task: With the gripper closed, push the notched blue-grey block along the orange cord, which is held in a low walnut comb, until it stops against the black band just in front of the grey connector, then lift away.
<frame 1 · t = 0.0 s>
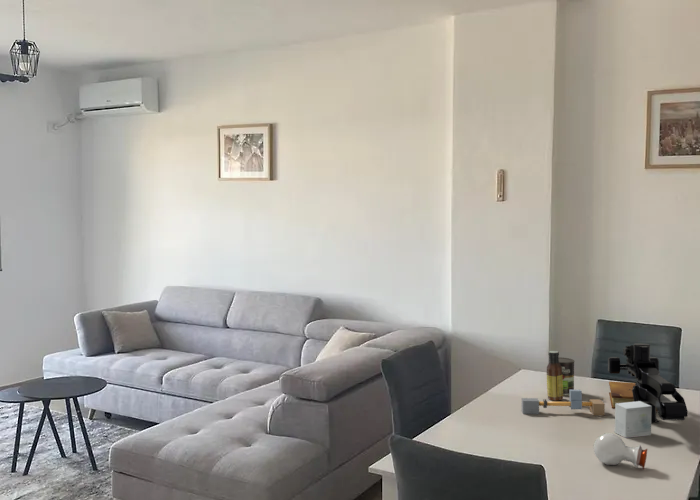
hand: (626, 360, 274), 17 cm above the table, tool horizontal, fingers open, 9 cm apart
potion bottle: (619, 465, 206), on the table
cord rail: (564, 412, 261), on the table
coffee can: (561, 392, 290), on the table
notched blue-grey block: (575, 399, 260), point 5 cm above the table, slide at 0.0 cm
diary: (635, 403, 273), on the table
skincare box: (633, 434, 235), on the table
sauce bottle: (554, 399, 279), on the table
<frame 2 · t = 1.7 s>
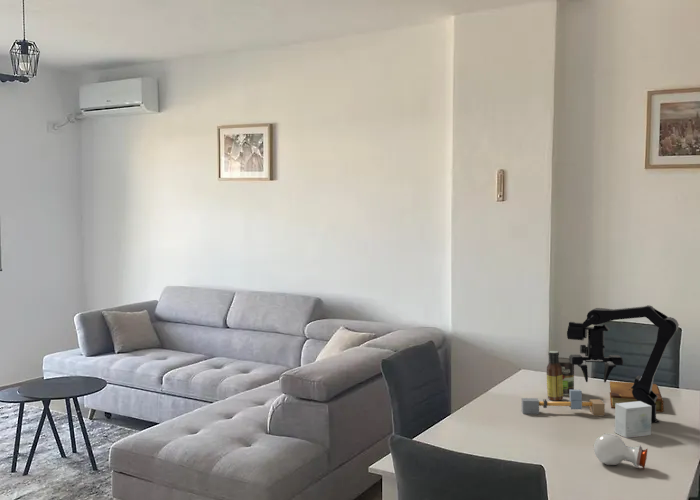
hand: (595, 382, 259), 12 cm above the table, tool pointing down, fingers open, 6 cm apart
nothing on the table moved.
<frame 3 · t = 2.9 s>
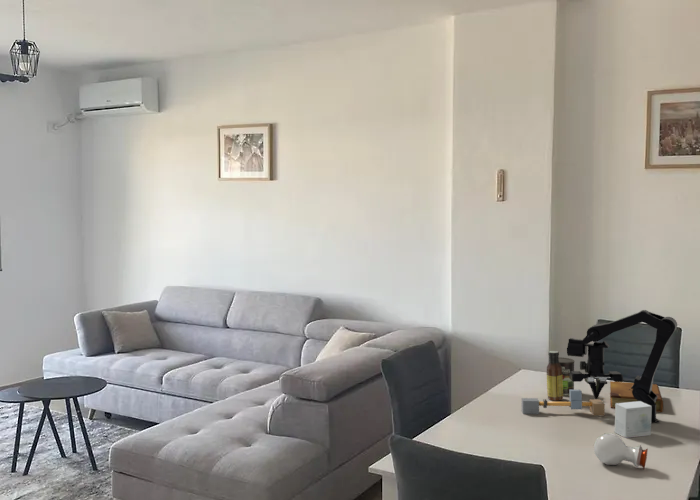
hand: (595, 398, 259), 6 cm above the table, tool pointing down, fingers closed
nothing on the table moved.
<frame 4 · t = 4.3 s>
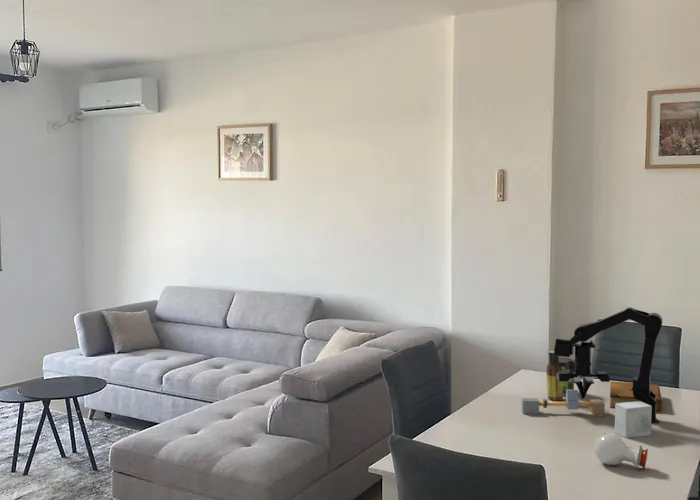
hand: (582, 398, 260), 6 cm above the table, tool pointing down, fingers closed
notched blue-grey block: (572, 399, 260), point 5 cm above the table, slide at 1.3 cm, touching gripper
everything else where it was.
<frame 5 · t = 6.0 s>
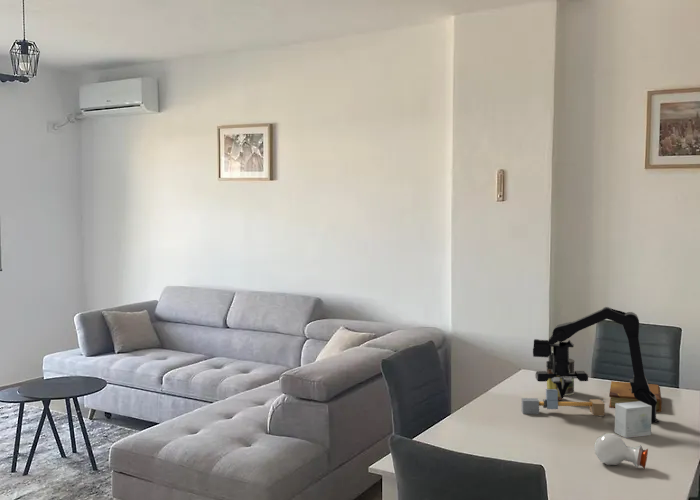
hand: (561, 398, 260), 6 cm above the table, tool pointing down, fingers closed
notched blue-grey block: (551, 398, 261), point 5 cm above the table, slide at 8.9 cm, touching gripper
everything else where it was.
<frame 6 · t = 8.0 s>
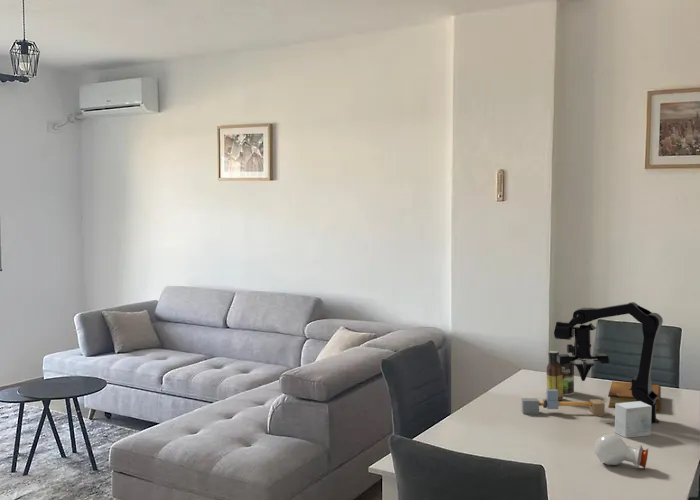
hand: (583, 380, 263), 12 cm above the table, tool pointing down, fingers closed
notched blue-grey block: (552, 398, 261), point 5 cm above the table, slide at 8.8 cm
everything else where it was.
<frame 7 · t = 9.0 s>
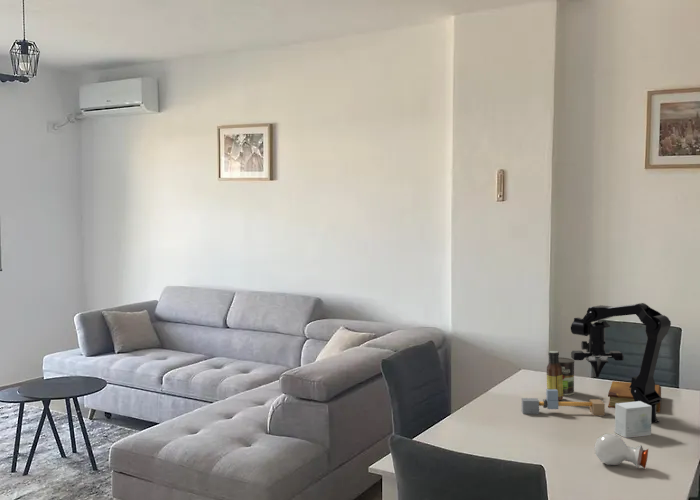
hand: (596, 377, 266), 12 cm above the table, tool pointing down, fingers closed
nothing on the table moved.
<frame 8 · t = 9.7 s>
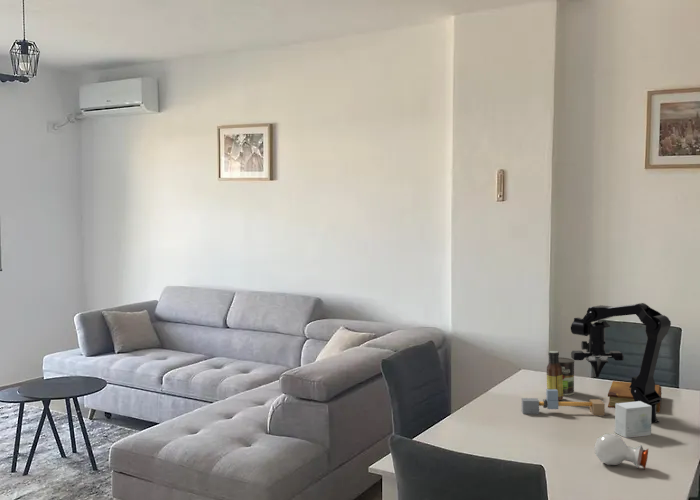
hand: (596, 377, 266), 12 cm above the table, tool pointing down, fingers closed
at the end: notched blue-grey block slide at 8.8 cm; sauce bottle moved 0.2 cm from its start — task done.
